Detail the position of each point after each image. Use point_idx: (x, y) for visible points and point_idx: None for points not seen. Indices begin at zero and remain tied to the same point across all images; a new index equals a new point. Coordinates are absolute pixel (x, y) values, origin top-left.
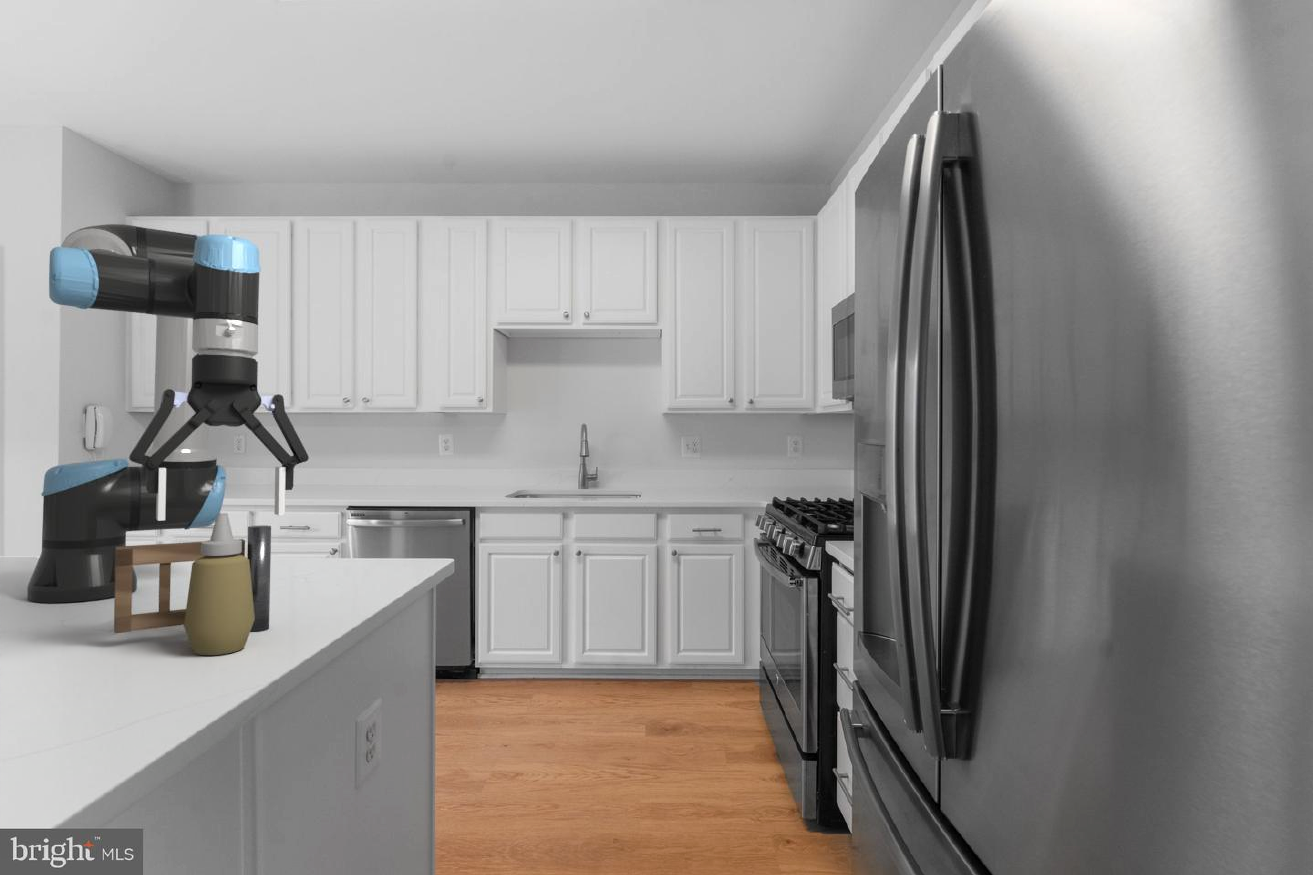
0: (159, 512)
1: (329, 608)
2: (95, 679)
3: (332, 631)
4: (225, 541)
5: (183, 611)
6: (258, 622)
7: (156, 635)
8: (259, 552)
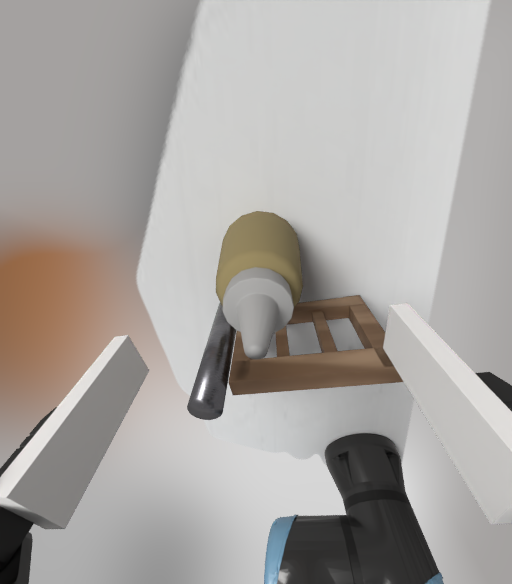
0: (417, 316)
1: (170, 357)
2: (381, 168)
3: (152, 271)
4: (250, 293)
5: (298, 312)
6: None
7: None
8: (211, 364)
